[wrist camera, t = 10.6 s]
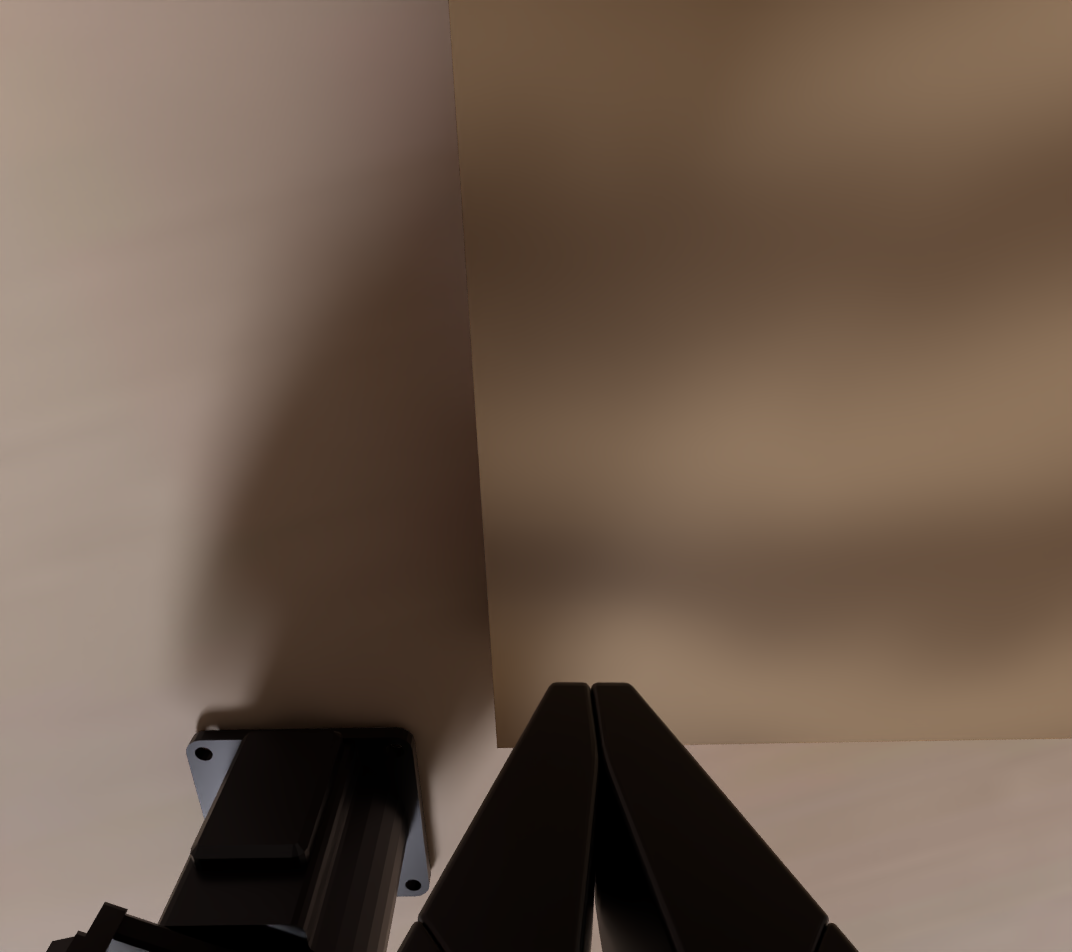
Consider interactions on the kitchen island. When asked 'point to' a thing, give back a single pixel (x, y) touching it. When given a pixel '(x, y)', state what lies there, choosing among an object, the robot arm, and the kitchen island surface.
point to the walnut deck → (774, 360)
